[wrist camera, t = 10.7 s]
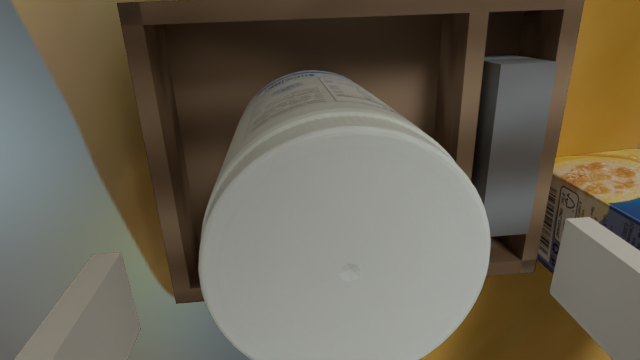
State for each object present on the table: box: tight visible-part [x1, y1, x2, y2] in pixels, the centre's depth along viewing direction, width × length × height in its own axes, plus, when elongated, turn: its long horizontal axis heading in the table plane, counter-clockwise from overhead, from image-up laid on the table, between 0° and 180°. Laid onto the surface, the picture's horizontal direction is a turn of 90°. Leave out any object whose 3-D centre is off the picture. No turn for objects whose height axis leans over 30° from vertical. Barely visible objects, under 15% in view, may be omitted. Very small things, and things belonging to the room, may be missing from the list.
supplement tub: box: [198, 70, 491, 360], centre depth 20 cm, size 10×10×15 cm
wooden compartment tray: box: [117, 0, 584, 303], centre depth 25 cm, size 17×23×5 cm
